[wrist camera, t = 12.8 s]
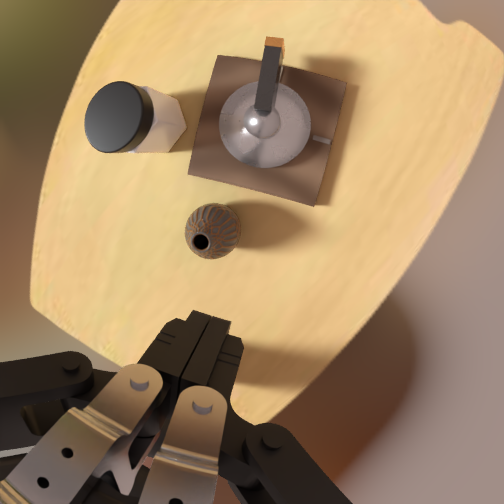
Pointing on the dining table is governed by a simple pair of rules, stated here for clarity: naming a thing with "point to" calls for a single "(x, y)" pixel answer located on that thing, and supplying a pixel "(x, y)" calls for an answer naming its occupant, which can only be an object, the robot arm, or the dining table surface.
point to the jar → (133, 119)
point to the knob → (265, 116)
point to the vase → (212, 231)
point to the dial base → (284, 176)
